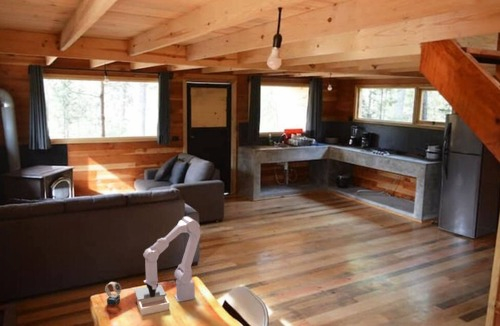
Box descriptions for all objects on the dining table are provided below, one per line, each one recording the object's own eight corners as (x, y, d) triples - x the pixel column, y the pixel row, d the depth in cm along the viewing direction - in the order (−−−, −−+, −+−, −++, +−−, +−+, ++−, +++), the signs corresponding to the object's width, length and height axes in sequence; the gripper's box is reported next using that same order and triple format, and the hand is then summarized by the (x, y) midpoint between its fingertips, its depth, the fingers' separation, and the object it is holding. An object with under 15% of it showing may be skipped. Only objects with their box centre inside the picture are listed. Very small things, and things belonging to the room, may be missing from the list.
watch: (118, 305, 214) (117, 285, 213) (104, 304, 216) (102, 284, 214) (123, 300, 220) (122, 281, 218) (109, 299, 221) (108, 279, 219)
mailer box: (164, 299, 221) (164, 292, 220) (169, 310, 210) (169, 302, 209) (137, 304, 215) (137, 297, 214) (141, 316, 204) (141, 308, 204)
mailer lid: (160, 285, 228) (160, 281, 228) (165, 295, 217) (165, 291, 216) (134, 290, 222) (134, 286, 222) (138, 300, 211) (137, 296, 211)
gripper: (141, 267, 216) (142, 291, 218) (146, 278, 203) (147, 304, 205) (154, 265, 218) (155, 289, 221) (160, 276, 205) (161, 301, 208)
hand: (152, 296), depth 213 cm, fingers closed
